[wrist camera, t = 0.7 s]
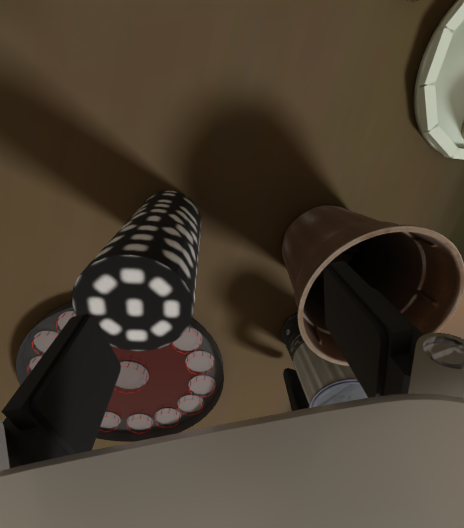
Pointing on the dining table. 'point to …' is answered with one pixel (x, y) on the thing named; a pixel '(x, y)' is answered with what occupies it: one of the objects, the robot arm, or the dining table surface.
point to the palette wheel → (145, 380)
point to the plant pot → (370, 270)
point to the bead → (462, 130)
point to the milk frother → (315, 374)
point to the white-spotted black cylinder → (145, 276)
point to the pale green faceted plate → (443, 86)
